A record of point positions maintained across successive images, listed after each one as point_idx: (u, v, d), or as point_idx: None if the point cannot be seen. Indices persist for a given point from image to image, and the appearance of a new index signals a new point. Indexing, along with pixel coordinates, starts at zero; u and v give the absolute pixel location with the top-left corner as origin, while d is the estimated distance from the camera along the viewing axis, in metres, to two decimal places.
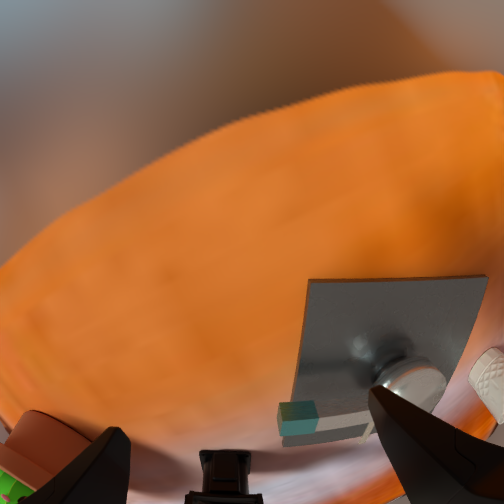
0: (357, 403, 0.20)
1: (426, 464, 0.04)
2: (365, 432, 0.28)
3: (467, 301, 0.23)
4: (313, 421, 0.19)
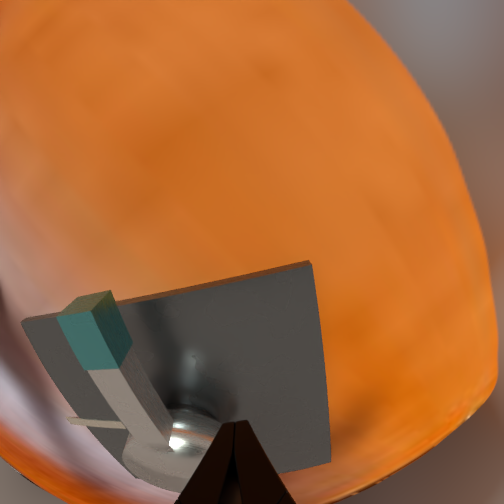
0: (156, 407, 0.13)
1: None
2: (86, 420, 0.18)
3: (303, 455, 0.20)
4: (107, 361, 0.11)
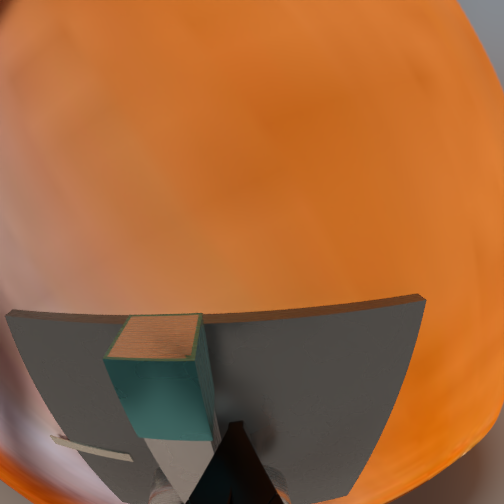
0: None
1: None
2: (79, 445, 0.13)
3: (326, 490, 0.17)
4: (194, 432, 0.06)
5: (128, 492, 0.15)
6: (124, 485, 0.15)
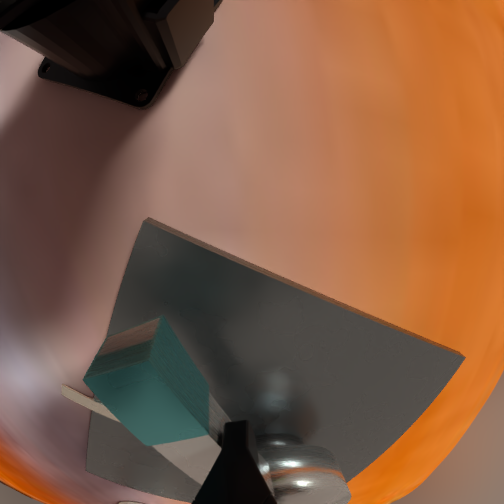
0: None
1: None
2: (106, 408, 0.12)
3: None
4: (187, 430, 0.06)
5: (110, 465, 0.14)
6: (116, 458, 0.13)
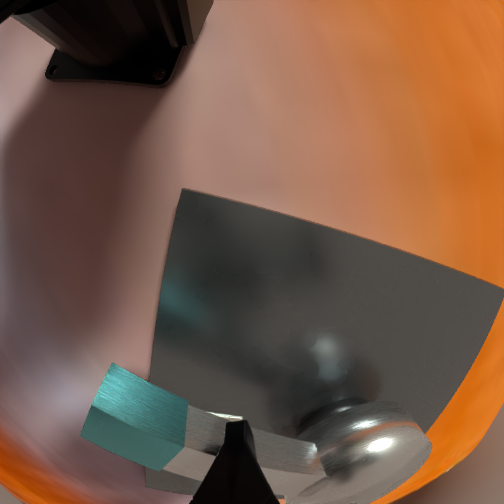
0: (277, 449, 0.09)
1: None
2: None
3: None
4: (165, 448, 0.07)
5: (172, 475, 0.14)
6: None
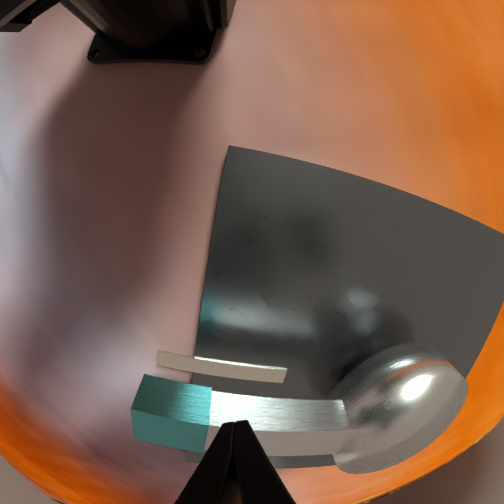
0: (301, 412, 0.10)
1: None
2: (209, 363, 0.14)
3: None
4: (196, 430, 0.09)
5: None
6: None
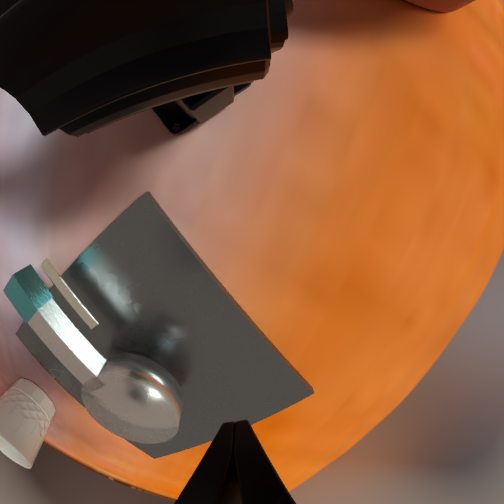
0: (80, 344, 0.16)
1: None
2: (64, 286, 0.19)
3: None
4: (31, 307, 0.14)
5: (37, 335, 0.20)
6: None
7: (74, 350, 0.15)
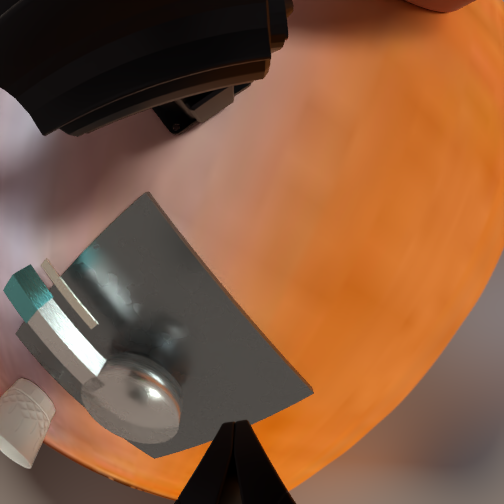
0: (80, 344, 0.16)
1: None
2: (64, 286, 0.19)
3: None
4: (31, 307, 0.14)
5: (37, 335, 0.20)
6: None
7: (74, 350, 0.15)
